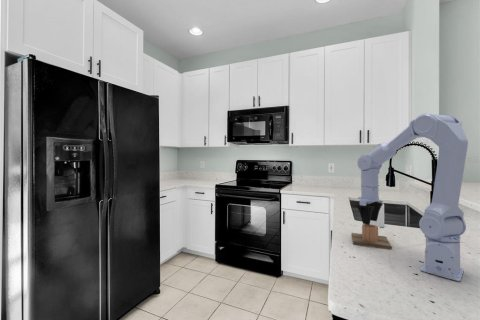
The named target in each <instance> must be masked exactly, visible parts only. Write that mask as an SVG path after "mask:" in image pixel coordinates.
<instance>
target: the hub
mask: <svg viewBox="0 0 480 320" xmlns="http://www.w3.org/2000/svg"><path fill="white" fill-rule="evenodd" d="M361 231H362V232H361V234H362V239H364V240H367V241H373V242H375V241H378V236H379V228H378V226H375V225H371V224H369V225H367V224H363V223H362V226H361Z"/></svg>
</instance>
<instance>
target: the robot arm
mask: <svg viewBox="0 0 480 320" xmlns="http://www.w3.org/2000/svg"><path fill="white" fill-rule="evenodd" d="M462 124H463V122H462V120H459V119H458V118H456V117H455V116H453V115H450V114H446V115H445V114H434V113H429V112H425V113H421V114H420V115H418V116H417V117H416V118H415V119H412V120H411V121H410V122H409V125H408V126H407V127H405V129H403V130H402V131H401V132H400V133H399V134H397V136H395V137H394V138H393V139H391V140H390V141H389V142H383V143H379V144H377V147H376V148H374V149H373V150H371V151H369V152H368V154H361V155H360V156H359V158H358V160H357V167H358V169H360V184H361V185H360V188H361V189H360V191H361V194H360V196H357V199H358V200H359V203H357V204H356V208H357V210H358V212H359V214H360V217H361V218H360V219H361V221H362V225H363V224H367V225H369V224H370V220H372V221H377V218H378V214H379V211H380V208H381V206H382V205H383V204H384V202H383V203H381V202H379V200H380V196H379V175H380V170H381V168H382V166H383V164H385V163H386V162H387V161H389V160H390V159H393V157H395V156H396V154H397V150H399V149H401V148H403V147H405V146H406V145H407V144H409V143H411V142H413V141H414V140H416V139H418V138H426V139H428V140H430V141H431V142H432V143H434V144H435V145H436V146H437V147H439V151H438V155H437V157H438V158H437V165H436V171H435V178H434V184H433V185H434V186H433V191H432V192H433V194H432V198H431V199H432V200H431V203H429V204H428V206H427V207H426V208H425V209H424V212H423V215H422V217H421V218H420V219H419V222H418V225H419V229H420V231H421V232H422V233H423V234H424V238H425V249H424V263H423V265H422V267H421V268H420V271H421V272H424V273H428V274H431V275H435V276H439V277H442V278H446V279H449V280H452V281H455V282H461V281H462V278H463V277H462V276H463V273H464V268H462V267H461V235H464V233H465V232H466V231H467V224H466V222H465V220H464V215H465V213H464V211H463V210H462V209H461V208H460V207H459V203H460V196H461V189H462V182H463V179H464V178H463V177H464V170H465V164H466V158H467V152H468V146H469V145H468V144H469V139H468V138H467V136H466V133H465V132H464V130H463V127H462Z"/></svg>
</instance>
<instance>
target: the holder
mask: <svg viewBox="0 0 480 320" xmlns="http://www.w3.org/2000/svg"><path fill="white" fill-rule="evenodd" d="M351 239H352V244H353V246H354V245H355V246H360V247H370V248H378V249H384V250H385V249H386V250H393V246H392V244H391V243H390V242H389V240H388V238H387V236H384V235H378V241H375V242H373V241H367V240H364V239H362V233H359V232H358V233H356V232H351Z"/></svg>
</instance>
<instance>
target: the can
mask: <svg viewBox="0 0 480 320" xmlns="http://www.w3.org/2000/svg"><path fill="white" fill-rule="evenodd" d="M379 202H381V203H383V205H382V206H381V208H380V211H379V214H378V218H377V221H372V220H370V224H371V225H375V226H378V227H383V228H384V227H385V204H384V200H380V199H379Z"/></svg>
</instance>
